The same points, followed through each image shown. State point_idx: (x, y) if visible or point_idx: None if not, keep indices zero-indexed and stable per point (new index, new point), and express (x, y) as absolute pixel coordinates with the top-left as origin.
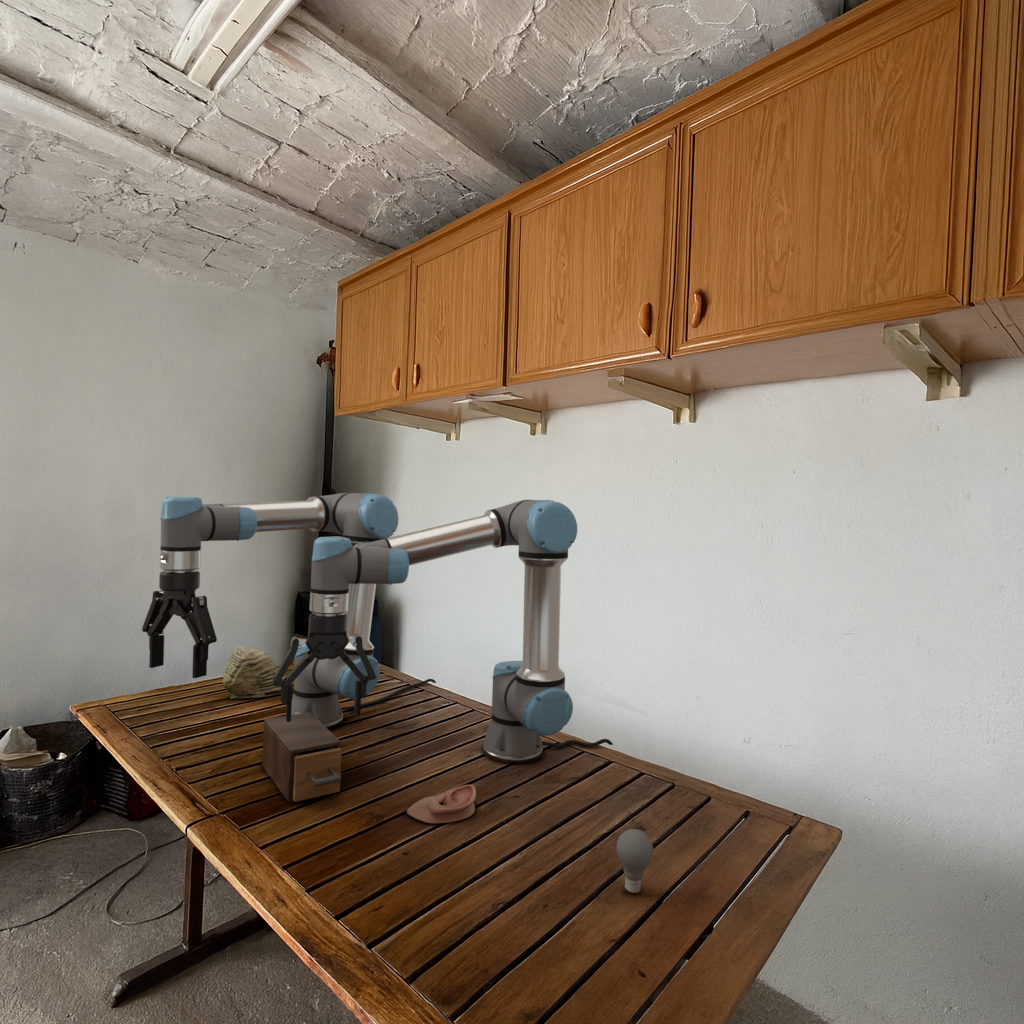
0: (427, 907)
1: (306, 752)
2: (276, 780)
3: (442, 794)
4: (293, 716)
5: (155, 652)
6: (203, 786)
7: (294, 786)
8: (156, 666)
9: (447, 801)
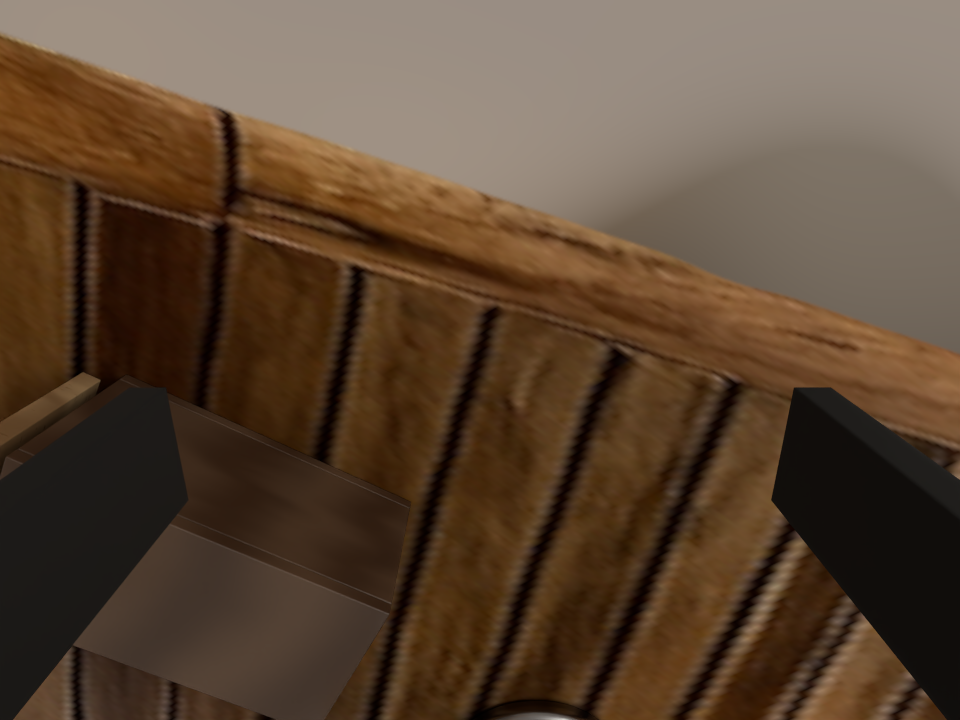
0: None
1: None
2: (247, 438)
3: None
4: (321, 681)
5: (883, 512)
6: (434, 317)
7: (59, 394)
8: (785, 436)
9: None
